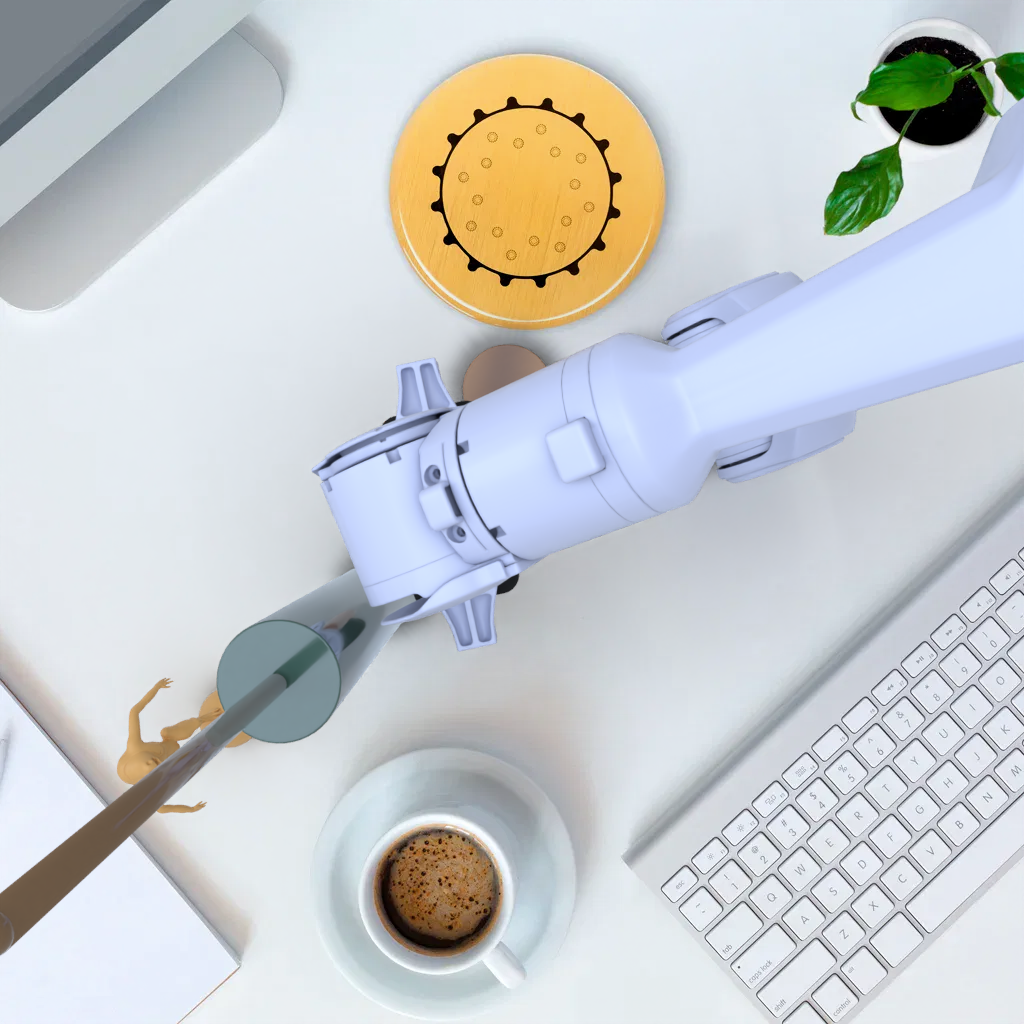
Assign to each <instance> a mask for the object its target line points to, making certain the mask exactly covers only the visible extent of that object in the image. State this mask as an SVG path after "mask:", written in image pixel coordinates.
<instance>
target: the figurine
mask: <svg viewBox="0 0 1024 1024" xmlns="http://www.w3.org/2000/svg"><path fill="white" fill-rule="evenodd" d="M172 683H174V680H171V678H170V677H169V678H167V677H163V678H161V679H160V680H159V681H157V682H156V683H155V684H154V686H153V687H152V688H150V690H149V691H148V692H146V694H145V695H143V697H142V698H141V699H140V700H139V701H138V702H137V703H136V704H135V705H133V706H132V707H131V708H130V711H129V714H128V737H127V740H126V749H125V751H124V752H123V754H122V755H121V756H120V757H119V759H118V761H117V765H116V773H117V776H118V778H119V779H120V780H121V781H123V783H125V784H127V785H131V786H133V785H135V784H136V783H137V782H138V781H140V780H141V779H142V778H143V777H145V776H146V775H147V774H148V773H149V772H151V771H152V770H153V769H154V768H156V767H157V766H158V765H159V764H161V763H162V762H163V761H164V760H166V759H167V758H168V757H169V756H170V755H172V754H173V753H174V752H175V751H177V750H178V749H179V748H180V747H181V745H180V744H179V743H178V742H180V741H181V742H182V741H185V740H188V739H190V738H192V737H191V736H193V734H194V733H195V732H196V731H197V730H198V729H200V731H201V730H203V729H204V728H205V727H206V726H208V725H209V724H210V723H211V722H212V721H214V720H215V719H216V718H217V717H219V716H220V715H221V714H222V713H224V712H225V711H224V710H223V707H222V705H221V703H220V700H219V696H218V692H217V689H216V690H214V691H213V692H211V693H210V694H209V695H207V697H206V698H205V699H204V700H203V702H202V704H201V706H200V708H199V713H198V716H197V717H190V718H188V719H184V720H183V719H182V720H180V721H178V722H177V723H175V724H173V725H169V726H165V727H163V728H161V730H160V732H159V733H160V737H161V739H162V741H144V740H143V739H142V736H141V735H142V734H141V721H140V713H141V712H142V711H144V709H145V708H146V706H147V705H148V704H149V703H150V702H152V700H153V699H154V698H155V697H156V696H157V694H158V692H159V691H160V690H161V689H170V688H171V686H170V684H172ZM251 739H252V737H251V736H249V735H247V734H245V733H244V732H241V733H240V734H238V735H237V736H236V737H235V738H234V739H233V740H232V741H231V742H230V743H229V744H228V745H227V746H226V747H225V748H224V749H233V748H236V747H237V748H238V747H240V746H242V745H245V744H246V743H248V742H249V741H250V740H251ZM207 804H208V801H205V802H203V800H201V801H199V802H198V803H196V804H195V805H194V806H189V805H186V804H164V805H163V806H161V807H160V808H159V809H158V810H157V811H156V812H157V813H159V814H169V813H175V814H185V813H186V814H187V813H190V814H191V813H192V814H193V813H195V812H198V811H200V810H202V809H204V808H205V807H206V805H207Z"/></svg>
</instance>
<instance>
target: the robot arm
mask: <svg viewBox="0 0 1024 1024" xmlns="http://www.w3.org/2000/svg"><path fill="white" fill-rule="evenodd" d="M660 336H661V338H662V340H663V342H667V344H665V343H662V342H660V341H656V340H654V339H650V338H648V337H644V336H641V335H639V334H636V333H631V332H619V333H616V334H614V335H612V336H610V337H608V338H606V339H604V340H601V341H600V342H596V343H594V344H592V345H590V346H588V347H585V348H584V349H581V350H579V351H577V352H575V353H573V354H570V355H568V356H566V357H564V358H562V359H560V360H558V361H555V362H553V363H552V364H549V365H546V367H545V368H543V369H541V370H538V371H536V372H534V373H532V374H530V375H528V376H525V377H523V378H521V379H519V380H517V381H515V382H513V383H510V384H508V385H506V386H504V387H502V388H500V389H498V390H495V391H493V392H491V393H489V394H487V395H485V396H483V397H480V398H478V399H476V400H474V401H464V400H461V401H455V400H454V399H453V397H452V396H451V394H450V392H449V391H448V389H447V387H446V385H445V383H444V381H443V378H442V375H441V370H440V365H439V362H438V361H437V359H436V358H435V357H429V358H425V359H420V360H415V361H410V362H407V363H401V364H397V365H396V366H395V370H396V371H395V372H396V376H397V377H396V378H397V384H398V385H397V386H398V397H397V406H396V407H397V408H396V415H393V416H391V417H389V418H387V419H386V420H385V421H384V422H383V423H382V424H381V425H379V426H377V427H374V428H373V429H370V430H368V431H366V432H364V433H361V434H359V435H357V436H355V437H353V438H351V439H349V440H347V441H346V442H343V443H342V444H340V445H338V446H337V447H336V448H335V449H333V450H331V451H329V453H327V454H326V455H325V456H324V458H323V459H322V460H321V461H320V462H318V464H315V466H313V467H312V468H311V472H312V474H314V475H316V476H318V477H319V479H320V480H321V483H320V484H319V485H320V486H319V487H320V488H321V490H322V493H323V495H324V498H325V500H326V502H327V505H328V507H329V510H330V512H331V514H332V517H333V519H334V522H335V524H336V526H337V529H338V531H339V533H340V536H341V538H342V540H343V543H344V545H345V548H346V550H347V553H348V555H349V557H350V560H351V563H352V565H353V568H355V569H356V572H357V574H358V577H359V579H360V581H361V584H362V586H363V589H364V591H365V594H366V596H367V599H368V601H369V603H370V606H371V607H376V606H380V605H384V604H387V603H390V602H393V601H396V600H399V599H402V598H405V597H407V596H410V595H413V594H414V597H415V599H416V601H415V602H412V603H410V604H408V605H406V606H404V607H402V608H401V609H399V610H397V611H395V612H393V613H391V614H390V615H388V616H387V617H385V618H384V619H383V620H382V621H381V625H383V626H385V625H391V624H397V623H401V624H403V623H408V622H413V621H417V620H420V619H424V618H426V617H427V618H428V617H430V616H432V615H436V614H439V613H441V614H442V615H443V617H444V619H445V620H446V623H447V624H448V626H449V628H450V631H451V633H452V636H453V640H454V643H455V646H456V650H457V652H463V651H469V650H473V649H474V650H475V649H479V648H483V647H487V646H488V647H489V646H491V645H497V643H498V642H497V641H498V634H497V629H496V624H495V608H496V600H497V596H498V595H505V594H507V593H509V592H511V591H512V590H514V589H515V588H516V586H517V584H518V582H519V580H520V574H521V573H524V571H526V570H527V569H529V568H530V567H532V566H533V565H535V564H537V563H538V562H540V561H541V560H543V559H545V558H546V557H548V556H549V555H552V554H555V553H557V552H560V551H563V550H566V549H569V548H572V547H574V546H577V545H580V544H583V543H585V542H589V541H591V540H593V539H597V538H599V537H602V536H604V535H608V534H610V533H613V532H615V531H619V530H622V529H624V528H627V527H629V526H632V525H635V524H638V523H641V522H645V521H646V520H649V519H652V518H655V517H658V516H661V515H663V514H666V513H667V512H671V511H673V510H676V509H680V508H682V507H685V506H687V505H689V504H691V503H692V502H693V501H694V500H695V499H696V497H697V496H698V495H699V493H700V492H701V490H702V488H703V486H704V483H705V482H706V480H707V478H708V476H709V473H710V472H711V470H712V468H713V466H714V464H715V465H716V466H717V468H716V469H715V471H716V474H717V477H718V479H720V480H722V481H723V480H725V481H727V482H729V483H731V484H738V483H742V482H747V481H749V480H752V479H756V478H759V477H761V476H765V475H768V474H771V473H773V472H776V471H779V470H781V469H784V468H786V467H789V466H791V465H794V464H797V463H799V462H801V461H802V462H803V461H804V460H806V459H809V458H811V457H813V456H815V455H818V454H821V453H822V452H824V451H827V450H829V449H832V448H833V447H835V446H838V445H839V444H841V443H843V441H844V439H845V437H847V436H849V435H850V434H852V433H853V432H854V431H855V427H856V422H857V414H858V413H857V411H860V410H863V409H868V408H870V407H874V406H877V405H882V404H884V403H888V402H891V401H895V400H898V399H902V398H905V397H908V396H911V395H915V394H920V393H923V392H925V391H930V390H933V389H936V388H939V387H942V386H947V385H950V384H953V383H956V382H960V381H964V380H967V379H970V378H973V377H977V376H981V375H984V374H988V373H991V372H995V371H998V370H1001V369H1004V368H1008V367H1012V366H1015V365H1019V364H1021V363H1024V97H1022V98H1021V99H1020V100H1018V101H1017V102H1016V103H1014V104H1013V105H1012V106H1011V107H1010V108H1008V109H1007V110H1006V111H1005V112H1004V113H1003V115H1001V117H1000V119H999V120H998V122H997V124H996V125H995V127H994V129H993V132H992V134H991V137H990V140H989V142H988V145H987V147H986V150H985V153H984V155H983V158H982V160H981V163H980V166H979V168H978V170H977V173H976V175H975V177H974V180H973V182H972V185H971V187H970V190H969V191H968V192H965V193H963V194H961V195H959V196H958V197H956V198H954V199H953V200H951V201H948V202H947V203H945V204H944V205H942V206H940V207H938V208H936V209H934V210H932V211H930V212H929V213H927V214H925V215H923V216H921V217H919V218H918V219H916V220H914V221H912V222H910V223H908V224H907V225H904V226H903V227H901V228H899V229H897V230H896V231H894V232H892V233H890V234H888V235H886V236H885V237H883V238H881V239H879V240H877V241H875V242H873V243H872V244H870V245H868V246H867V247H866V246H865V247H864V248H863V249H861V250H859V251H857V252H855V253H854V254H852V255H849V256H847V257H846V258H844V259H842V260H841V261H839V262H837V263H835V264H834V265H832V266H829V267H828V268H826V269H824V270H823V271H820V272H819V273H817V274H815V275H813V276H811V277H809V278H808V279H806V280H803V279H802V278H800V277H799V276H798V275H796V274H795V272H792V271H789V270H788V271H785V272H781V273H780V272H777V271H772V272H769V273H765V274H762V275H760V276H757V277H754V278H750V279H748V280H746V281H743V282H740V283H738V284H735V285H733V286H730V287H728V288H726V289H724V290H722V291H719V292H717V293H714V294H712V295H710V296H708V297H705V298H703V299H700V300H699V301H697V302H695V303H692V304H690V305H689V306H687V307H684V308H683V309H681V310H679V311H677V312H675V313H673V314H672V315H670V316H668V318H667V319H666V321H665V323H664V326H663V328H662V329H661V330H660Z"/></svg>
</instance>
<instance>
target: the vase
mask: <svg viewBox="0 0 1024 1024" xmlns="http://www.w3.org/2000/svg"><path fill="white" fill-rule="evenodd" d="M415 601H416V599H415V597H414V594H413V595H410V596H407V597H405V598H402V599H399V600H396V601H393V602H390V603H387V604H384V605H380V606H376V607H371V606H370V603H369V601H368V599H367V596H366V594H365V591H364V589H363V586H362V584H361V581H360V579H359V577H358V574H357V572H356V569H355V567H353V568H352V569H349V570H348V571H346V572H344V573H343V574H341V575H339V576H337V577H336V578H333V579H332V580H330V581H328V582H326V583H325V584H323V585H321V586H319V587H317V588H316V589H314V590H312V591H310V592H309V593H307V594H305V595H303V596H301V597H299V598H298V599H296V600H294V601H292V602H291V603H289V604H287V605H285V606H283V607H282V608H280V609H278V610H276V611H274V612H272V613H271V614H269V615H267V616H265V617H264V618H261V619H260V620H258V621H256V622H254V623H253V624H251V625H249V626H248V627H246V628H244V629H243V630H242V631H240V632H239V633H237V634H236V635H235V637H233V639H232V640H230V642H229V643H228V644H227V646H226V647H225V649H224V650H223V652H222V655H221V657H220V660H219V662H218V665H217V666H218V667H217V671H216V690H217V692H218V696H219V700H220V703H221V705H222V707H223V710H224V711H225V712H224V713H222V714H221V715H220V716H219V717H217V718H216V719H215V720H214V721H212V722H211V723H210V724H209V725H208V726H206V727H205V728H204V729H203V730H201V729H200V731H199V732H198V733H197V734H195V735H194V736H193V737H190V738H189V740H188V741H186V742H185V743H184V744H183V745H181V746H180V748H179V749H178V750H177V751H175V752H174V753H173V754H172V755H170V756H169V757H168V758H167V759H166V760H164V761H163V762H162V763H161V764H159V765H158V766H157V767H156V768H154V769H153V770H152V771H151V772H149V773H148V774H147V775H146V776H145V777H143V778H142V779H141V780H140V781H138V782H137V783H136V784H135V785H131V787H130V788H128V789H127V790H126V791H125V792H123V793H122V794H121V795H120V796H119V797H117V798H116V799H115V800H113V801H112V802H111V803H110V804H109V805H107V806H106V807H105V808H104V809H103V810H101V811H100V812H99V813H98V814H96V815H95V816H94V817H92V819H90V820H89V821H87V822H86V823H85V824H84V825H83V826H82V827H80V828H79V829H78V830H77V831H75V832H74V833H72V835H71V836H69V837H68V838H66V839H65V840H64V841H62V843H60V844H59V845H58V846H57V847H56V848H54V849H53V850H52V851H50V852H49V853H48V854H47V855H45V856H44V857H43V858H41V860H39V861H38V862H36V864H35V865H33V866H32V867H31V868H30V869H28V870H26V872H24V873H23V874H21V876H20V877H18V878H17V879H16V880H15V881H13V882H12V883H11V884H10V885H9V886H7V887H6V888H5V889H3V890H2V891H1V892H0V957H2V956H3V955H4V954H6V953H7V952H8V950H10V949H11V948H12V947H13V946H14V945H15V944H16V943H18V941H19V940H21V939H22V938H23V937H24V936H25V935H26V934H27V933H28V932H30V930H31V929H32V928H33V927H34V926H36V925H37V924H38V923H39V922H40V921H41V920H42V919H43V918H44V917H45V916H46V915H48V913H50V911H52V910H53V909H54V908H55V907H56V906H57V905H58V904H59V903H60V902H61V901H62V900H64V898H65V897H66V896H68V895H69V894H70V893H72V891H73V890H74V889H75V888H76V887H77V886H78V885H79V884H81V883H82V881H84V880H85V879H86V878H87V877H88V876H89V875H90V874H91V873H92V872H93V871H94V870H96V869H97V867H99V866H100V865H101V864H102V863H103V862H104V861H105V860H106V859H107V858H108V857H109V856H110V855H111V854H112V853H114V852H115V851H116V850H117V849H118V848H119V847H120V846H121V845H122V844H123V843H125V841H126V840H127V839H129V837H131V836H132V835H133V834H134V833H135V832H136V831H137V830H139V828H141V826H143V824H144V823H145V822H147V821H148V820H149V819H150V818H151V817H152V816H153V815H154V814H156V812H157V810H158V809H159V808H160V807H161V806H163V805H166V803H167V802H168V801H169V800H170V799H172V797H174V795H175V794H177V793H178V792H179V791H180V790H181V789H182V788H183V787H184V786H185V785H186V784H188V783H189V781H191V779H193V778H194V777H195V776H196V775H197V774H199V772H201V770H202V769H203V768H204V767H205V766H206V765H207V764H209V763H210V762H211V761H213V760H214V758H215V757H216V756H217V755H218V754H220V753H221V752H222V750H224V749H226V748H225V747H226V746H227V745H228V744H229V743H230V742H231V741H232V740H233V739H234V738H235V737H236V736H237V735H238V734H240V733H241V732H244V733H245V734H247V735H249V736H251V737H252V738H253V739H255V740H258V741H260V742H264V743H267V744H268V743H269V744H275V745H277V744H290V743H295V742H299V741H303V740H304V739H307V738H309V737H310V736H312V735H314V734H315V733H317V732H318V731H319V730H320V729H322V728H323V727H324V725H326V724H327V722H328V721H329V720H330V719H331V718H332V716H333V715H334V713H335V712H336V711H337V709H338V708H339V707H340V705H341V704H342V702H343V701H344V700H345V699H346V698H347V697H348V695H349V694H350V693H351V691H352V690H353V688H354V687H355V686H356V685H357V683H358V682H359V680H360V679H361V678H362V676H363V675H364V674H365V673H366V671H367V670H368V668H369V667H370V665H371V664H372V663H373V662H374V661H375V659H376V658H377V656H378V655H379V654H380V652H381V651H382V650H383V649H384V648H385V646H386V644H387V643H388V642H389V641H390V639H391V638H392V637H393V635H394V634H395V633H396V631H397V630H398V629H399V627H400V626H401V625H402V623H397V624H391V625H385V626H383V625H381V621H382V620H383V619H384V618H385V617H387V616H388V615H390V614H391V613H393V612H395V611H397V610H399V609H401V608H402V607H404V606H406V605H408V604H410V603H412V602H415ZM252 738H251V739H252Z"/></svg>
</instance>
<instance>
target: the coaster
mask: <svg viewBox="0 0 1024 1024" xmlns="http://www.w3.org/2000/svg"><path fill="white" fill-rule="evenodd" d="M545 367H547V365H546V364H545V363H544V361H543V360H542V359H541V358H540V357H539V356H538V355H537V354H536V353H535V352H533V351H531V350H529V349H528V348H526V347H523V346H521V345H516V344H499V345H495V346H492V347H489V348H487V349H486V350H483V351H481V352H480V353H479V354H478V355H476V357H475V358H474V359H473V360H472V361H471V363H470V364H469V366H468V367H467V369H466V372H465V374H464V378H463V383H462V396H463V401H474V400H476V399H478V398H480V397H483V396H485V395H487V394H489V393H491V392H493V391H495V390H498V389H500V388H502V387H504V386H506V385H508V384H510V383H513V382H515V381H517V380H519V379H521V378H523V377H525V376H528V375H530V374H532V373H534V372H536V371H538V370H541V369H543V368H545Z"/></svg>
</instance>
